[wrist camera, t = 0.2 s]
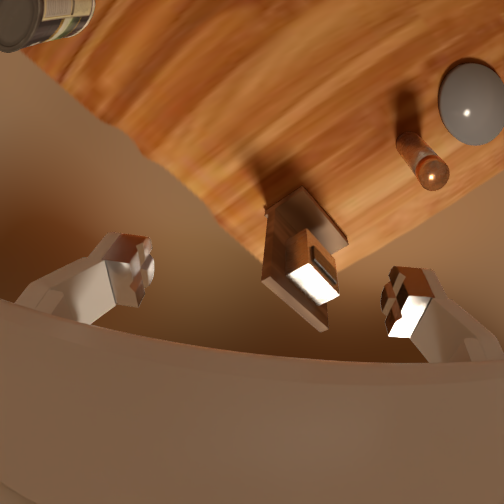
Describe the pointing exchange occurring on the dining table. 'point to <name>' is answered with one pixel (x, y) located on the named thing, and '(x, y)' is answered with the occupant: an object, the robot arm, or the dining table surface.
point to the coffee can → (41, 21)
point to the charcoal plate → (472, 103)
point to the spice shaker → (422, 161)
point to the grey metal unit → (311, 267)
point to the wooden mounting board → (278, 231)
